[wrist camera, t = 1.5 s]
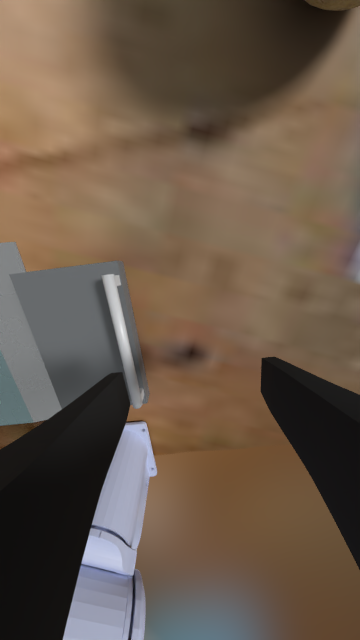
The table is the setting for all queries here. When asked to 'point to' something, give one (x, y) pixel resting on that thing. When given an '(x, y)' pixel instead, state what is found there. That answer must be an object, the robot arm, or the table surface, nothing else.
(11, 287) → the dock bay
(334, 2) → the fossilized egg
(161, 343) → the table surface
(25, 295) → the cabinet door with handle
